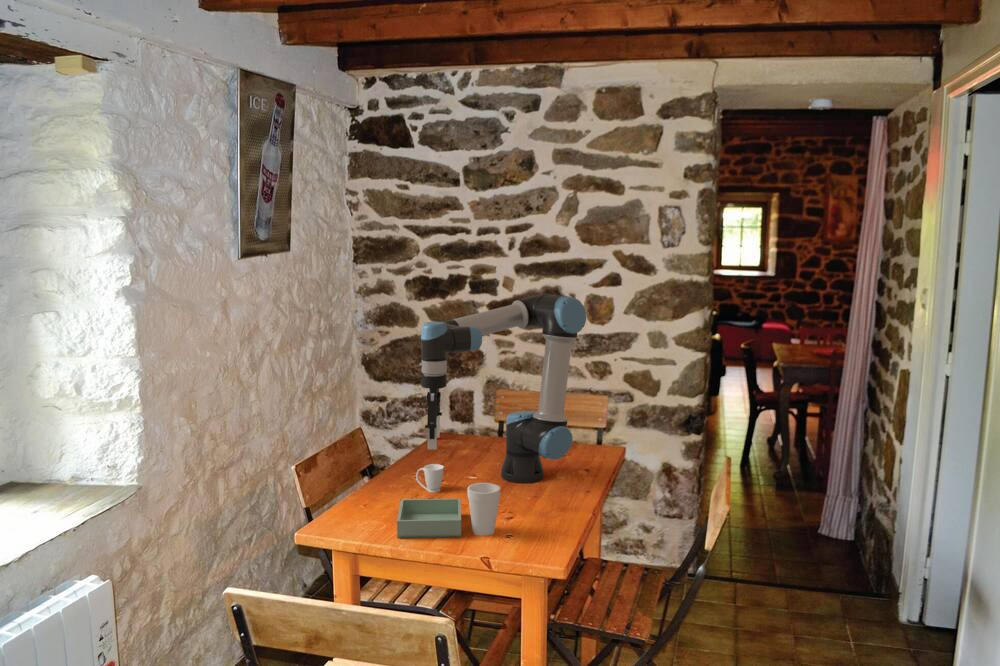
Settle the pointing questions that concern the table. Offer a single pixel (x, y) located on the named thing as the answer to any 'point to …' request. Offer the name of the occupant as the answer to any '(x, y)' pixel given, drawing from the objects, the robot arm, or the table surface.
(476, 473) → the table surface
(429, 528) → the bin
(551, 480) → the table surface
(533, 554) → the table surface
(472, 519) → the foam cup
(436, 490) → the cup
